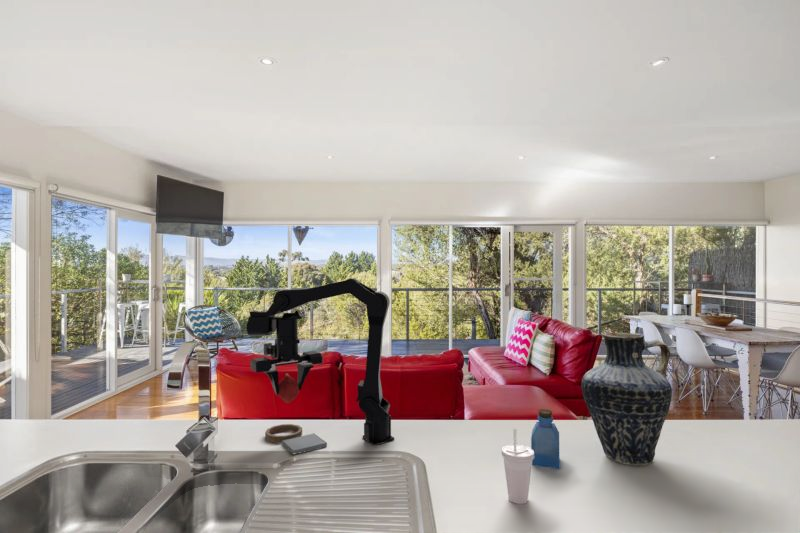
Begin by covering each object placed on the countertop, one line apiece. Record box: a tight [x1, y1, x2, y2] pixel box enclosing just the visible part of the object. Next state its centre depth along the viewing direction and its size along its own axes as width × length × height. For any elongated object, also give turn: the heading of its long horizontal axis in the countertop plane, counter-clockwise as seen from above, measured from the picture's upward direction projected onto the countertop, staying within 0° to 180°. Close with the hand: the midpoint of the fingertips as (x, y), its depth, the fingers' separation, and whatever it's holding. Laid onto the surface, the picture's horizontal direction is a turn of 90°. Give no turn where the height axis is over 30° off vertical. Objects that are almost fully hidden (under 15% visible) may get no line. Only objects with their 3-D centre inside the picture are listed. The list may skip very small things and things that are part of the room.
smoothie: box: [501, 427, 534, 505], centre depth 90 cm, size 6×6×14 cm
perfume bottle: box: [530, 408, 560, 470], centre depth 107 cm, size 6×6×12 cm
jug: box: [581, 331, 673, 466], centre depth 109 cm, size 21×19×30 cm
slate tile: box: [282, 433, 328, 454], centre depth 118 cm, size 9×8×1 cm
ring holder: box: [264, 423, 303, 444], centre depth 125 cm, size 10×10×2 cm
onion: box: [277, 373, 300, 404], centre depth 124 cm, size 6×6×8 cm
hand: (288, 392), depth 123 cm, fingers closed on onion, 6 cm apart
